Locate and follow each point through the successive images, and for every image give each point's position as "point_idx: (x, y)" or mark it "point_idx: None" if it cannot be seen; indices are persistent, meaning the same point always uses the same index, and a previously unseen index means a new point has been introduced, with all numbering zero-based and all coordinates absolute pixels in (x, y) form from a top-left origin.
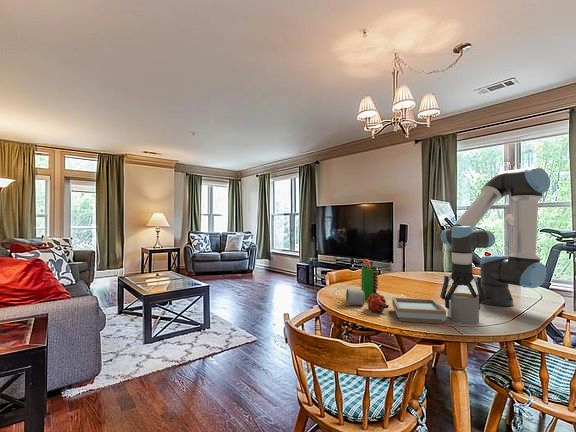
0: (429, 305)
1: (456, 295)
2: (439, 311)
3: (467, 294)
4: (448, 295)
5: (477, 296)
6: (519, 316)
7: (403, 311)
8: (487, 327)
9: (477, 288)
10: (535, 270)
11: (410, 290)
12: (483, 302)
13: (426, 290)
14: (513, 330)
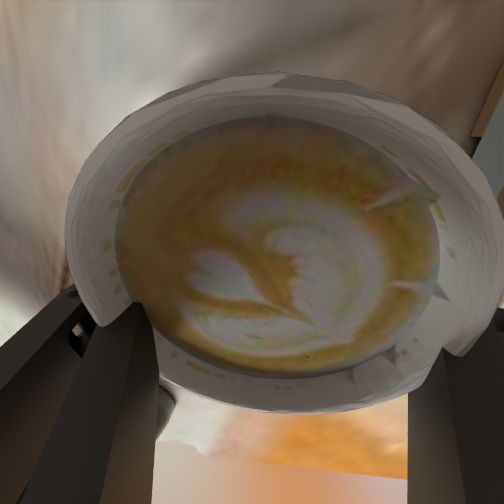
0: (501, 307)
1: (309, 378)
2: None
3: (202, 381)
4: (502, 348)
5: (94, 306)
6: (54, 290)
7: None
8: (171, 59)
9: (13, 465)
10: None
11: (337, 464)
12: (158, 389)
13: (289, 459)
14: (23, 34)
